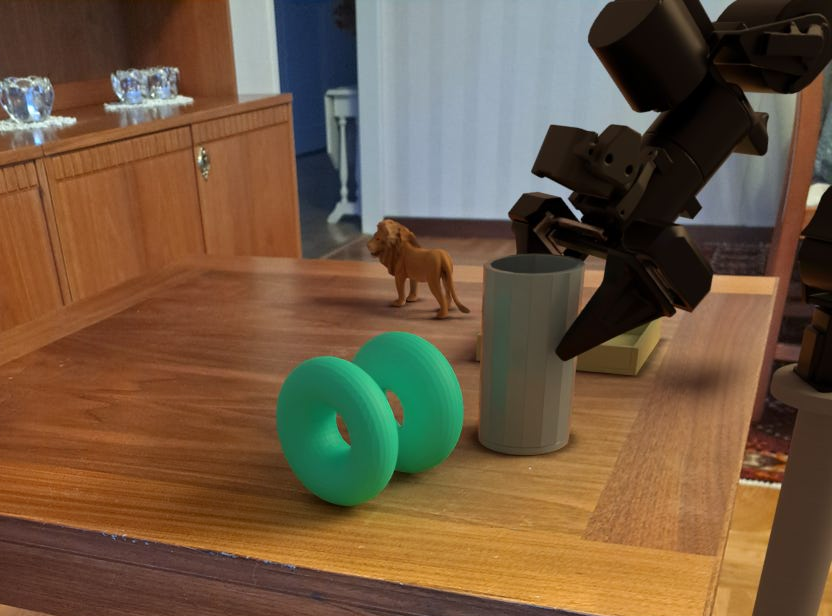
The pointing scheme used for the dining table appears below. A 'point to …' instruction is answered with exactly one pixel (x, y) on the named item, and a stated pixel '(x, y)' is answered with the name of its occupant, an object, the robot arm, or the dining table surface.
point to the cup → (527, 352)
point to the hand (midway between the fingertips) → (525, 341)
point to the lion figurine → (414, 265)
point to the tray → (616, 351)
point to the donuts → (368, 417)
